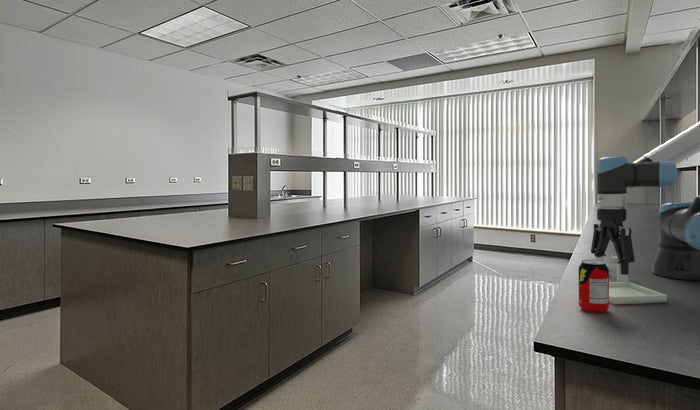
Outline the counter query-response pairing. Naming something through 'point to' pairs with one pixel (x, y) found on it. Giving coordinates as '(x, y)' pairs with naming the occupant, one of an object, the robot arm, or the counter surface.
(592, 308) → the beverage can
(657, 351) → the counter surface
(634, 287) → the tray
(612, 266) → the pill bottle
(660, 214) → the robot arm
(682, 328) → the counter surface
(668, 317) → the counter surface
